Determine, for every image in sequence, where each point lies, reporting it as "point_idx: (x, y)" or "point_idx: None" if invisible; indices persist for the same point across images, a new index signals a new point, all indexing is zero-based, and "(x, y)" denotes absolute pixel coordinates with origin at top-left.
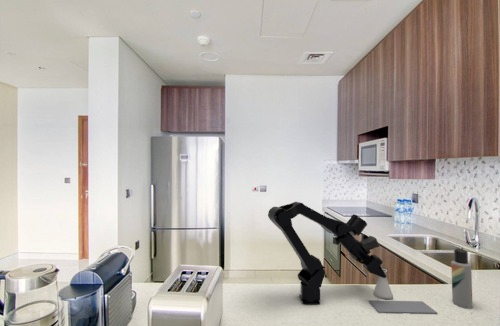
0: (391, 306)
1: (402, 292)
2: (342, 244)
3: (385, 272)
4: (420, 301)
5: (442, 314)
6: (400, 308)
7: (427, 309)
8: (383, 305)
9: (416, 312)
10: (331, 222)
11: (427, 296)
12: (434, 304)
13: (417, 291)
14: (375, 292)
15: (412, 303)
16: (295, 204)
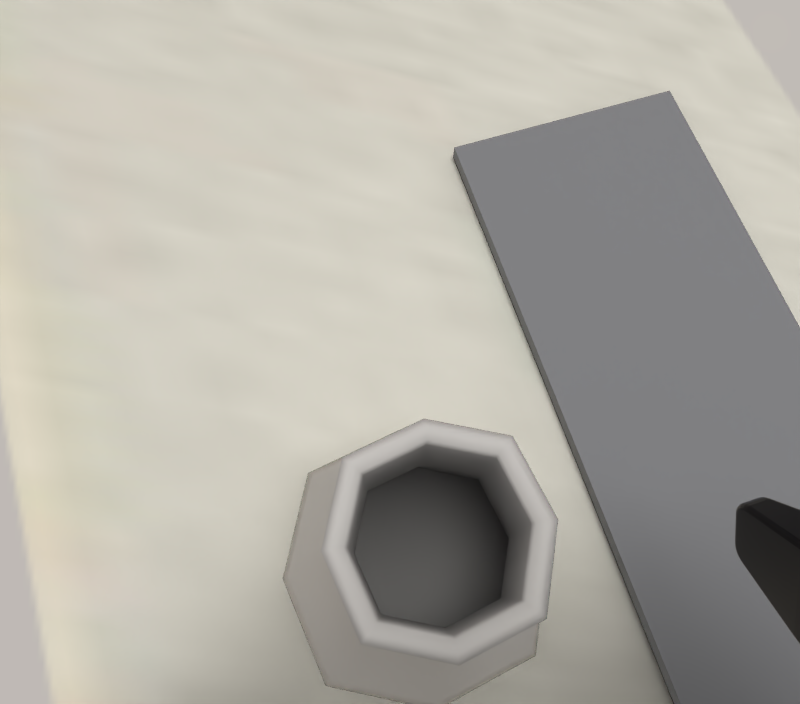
0: None
1: (234, 293)
2: None
3: (526, 477)
4: (469, 166)
5: (644, 65)
6: (761, 414)
7: (642, 153)
8: None
9: (764, 270)
10: None
11: (268, 73)
12: (448, 66)
13: (157, 130)
14: (472, 682)
15: (559, 256)
16: None
